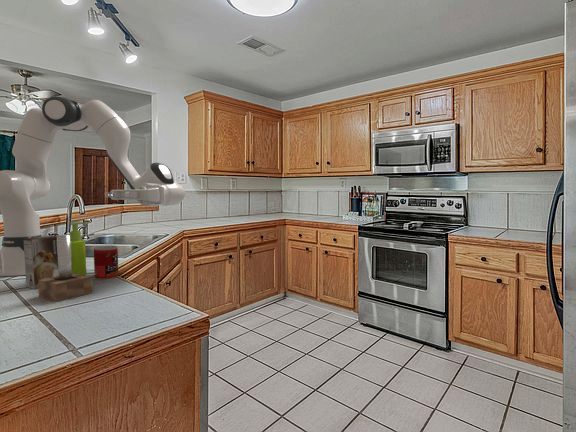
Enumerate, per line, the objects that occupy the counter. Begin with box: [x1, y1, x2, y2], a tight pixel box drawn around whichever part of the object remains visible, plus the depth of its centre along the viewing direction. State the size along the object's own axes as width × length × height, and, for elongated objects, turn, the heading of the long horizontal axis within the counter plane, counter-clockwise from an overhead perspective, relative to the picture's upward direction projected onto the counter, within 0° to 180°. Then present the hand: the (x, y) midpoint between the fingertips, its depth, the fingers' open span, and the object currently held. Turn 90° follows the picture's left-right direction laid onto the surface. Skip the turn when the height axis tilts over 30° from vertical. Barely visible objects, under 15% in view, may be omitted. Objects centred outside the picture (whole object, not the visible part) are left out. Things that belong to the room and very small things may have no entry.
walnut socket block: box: [38, 273, 93, 302], centre depth 103 cm, size 10×10×5 cm
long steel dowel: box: [56, 234, 72, 281], centre depth 103 cm, size 3×3×18 cm
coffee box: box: [23, 235, 58, 290], centre depth 114 cm, size 9×6×16 cm
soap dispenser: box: [69, 221, 88, 276], centre depth 126 cm, size 6×7×20 cm
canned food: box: [93, 245, 119, 280], centre depth 126 cm, size 8×8×11 cm
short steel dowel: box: [52, 268, 59, 277], centre depth 113 cm, size 3×3×6 cm
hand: (114, 194), depth 118 cm, fingers open, 8 cm apart
